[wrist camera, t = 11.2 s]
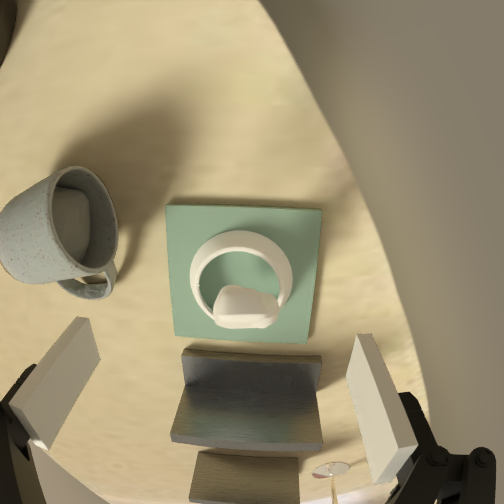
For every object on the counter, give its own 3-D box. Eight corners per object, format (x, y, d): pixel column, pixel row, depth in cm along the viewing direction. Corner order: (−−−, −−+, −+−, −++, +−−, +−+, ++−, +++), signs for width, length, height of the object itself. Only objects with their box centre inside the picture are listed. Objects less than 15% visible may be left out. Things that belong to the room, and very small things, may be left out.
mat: (167, 203, 23) (165, 205, 22) (320, 209, 22) (322, 211, 22) (176, 331, 26) (175, 335, 26) (306, 339, 26) (306, 343, 25)
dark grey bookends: (184, 349, 27) (163, 404, 20) (320, 356, 26) (331, 414, 20) (201, 470, 34) (193, 512, 27) (292, 475, 34) (294, 518, 27)
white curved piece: (314, 169, 16) (348, 307, 14) (276, 242, 27) (292, 324, 25) (164, 186, 15) (179, 336, 13) (188, 254, 26) (199, 339, 24)
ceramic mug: (31, 193, 23) (-29, 217, 15) (99, 158, 22) (38, 173, 14) (74, 298, 26) (30, 345, 19) (145, 281, 25) (106, 334, 18)
